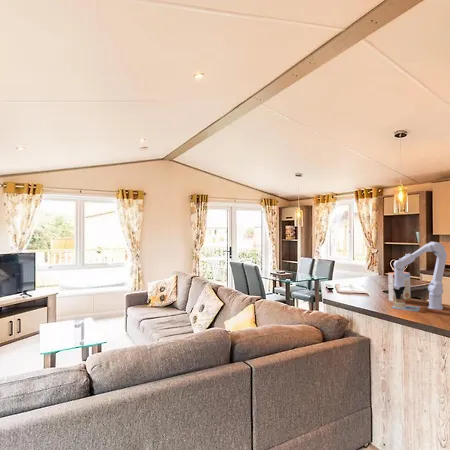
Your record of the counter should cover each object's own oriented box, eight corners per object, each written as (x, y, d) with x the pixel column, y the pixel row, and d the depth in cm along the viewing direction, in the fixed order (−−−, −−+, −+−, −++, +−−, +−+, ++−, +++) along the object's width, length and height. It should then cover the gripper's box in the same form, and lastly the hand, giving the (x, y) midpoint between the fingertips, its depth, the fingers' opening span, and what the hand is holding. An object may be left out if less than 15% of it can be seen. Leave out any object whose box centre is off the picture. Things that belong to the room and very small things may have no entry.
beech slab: (395, 304, 230) (395, 300, 230) (405, 306, 227) (405, 301, 227) (393, 306, 225) (393, 302, 225) (403, 307, 222) (403, 303, 222)
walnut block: (396, 300, 229) (396, 293, 229) (403, 301, 226) (403, 294, 226) (395, 302, 226) (395, 294, 226) (402, 302, 223) (402, 295, 223)
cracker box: (405, 299, 246) (404, 271, 246) (410, 301, 240) (410, 272, 240) (388, 300, 244) (387, 272, 244) (393, 302, 238) (393, 273, 238)
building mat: (394, 304, 233) (394, 303, 233) (421, 307, 224) (421, 306, 224) (390, 308, 222) (390, 308, 222) (418, 312, 212) (418, 311, 212)
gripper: (394, 276, 234) (394, 295, 234) (390, 279, 222) (390, 299, 223) (406, 277, 230) (406, 296, 230) (402, 280, 218) (402, 300, 218)
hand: (399, 298), depth 226 cm, fingers open, 7 cm apart
